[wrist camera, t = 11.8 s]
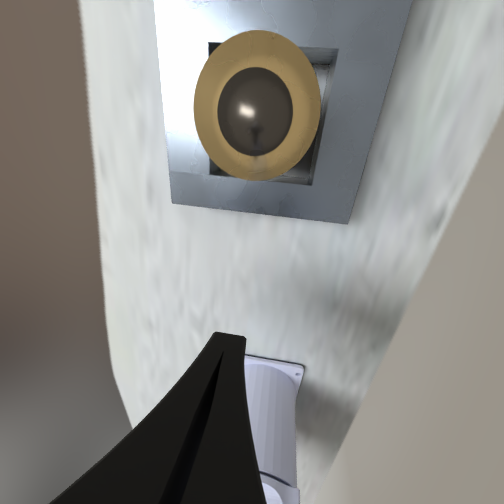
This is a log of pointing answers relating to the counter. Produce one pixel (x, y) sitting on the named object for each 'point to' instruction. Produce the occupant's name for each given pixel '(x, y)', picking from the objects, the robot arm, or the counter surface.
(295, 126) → the bushing
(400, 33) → the plate
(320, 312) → the counter surface
